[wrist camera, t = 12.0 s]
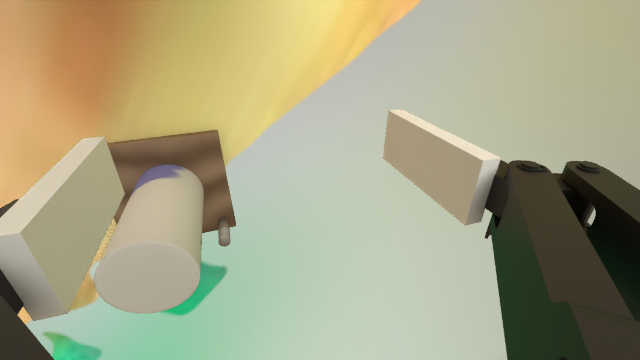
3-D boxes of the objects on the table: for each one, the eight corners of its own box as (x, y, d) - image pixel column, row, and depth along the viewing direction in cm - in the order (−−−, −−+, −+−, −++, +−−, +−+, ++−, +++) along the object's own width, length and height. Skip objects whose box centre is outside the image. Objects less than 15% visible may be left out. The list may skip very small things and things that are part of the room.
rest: (88, 145, 44) (67, 166, 38) (217, 129, 49) (218, 145, 42) (129, 242, 52) (117, 273, 46) (235, 221, 57) (238, 246, 51)
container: (184, 226, 53) (171, 323, 36) (123, 202, 48) (74, 301, 31) (215, 182, 51) (217, 262, 34) (155, 152, 46) (123, 228, 29)
